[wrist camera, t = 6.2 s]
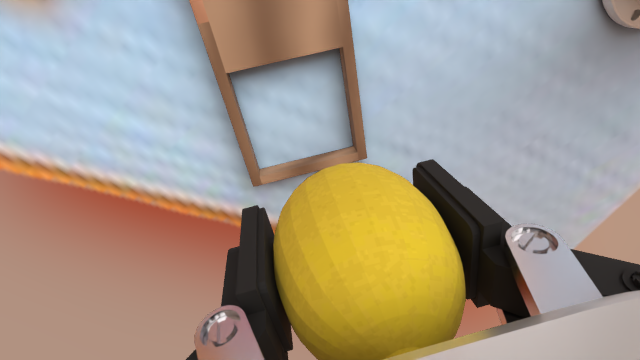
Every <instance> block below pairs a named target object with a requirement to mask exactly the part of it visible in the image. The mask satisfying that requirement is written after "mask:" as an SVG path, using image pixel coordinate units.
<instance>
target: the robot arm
mask: <svg viewBox="0 0 640 360" xmlns="http://www.w3.org/2000/svg"><path fill="white" fill-rule="evenodd" d="M602 2H603V5H604V8H605V10H606V11H607V13H608V15H609V16H610V17H611V18H612V19H613V20H614V21H615V22H616V23H617V24H620V25H622V26H624V27H628V28H635V29H640V0H602ZM413 186H414V187H416V188H417V189H418V190H419V191H420V192H421V193H422V194H423V195H424V196H425V197H426V198H427V199H428V200H429V201H430V202H431V203H432V204H433V206H434V207H435V208H436V210H437V211H438V213H439V214H440V216H441V218H442V219H443V221H444V223H445V225H446V227H447V229H448V231H449V232H450V234H451V236H452V238H453V240H454V242H455V245H456V247H457V250H458V252H459V255H460V258H461V261H462V266H463V271H464V278H465V288H466V299H471V300H472V301H473V303H474V304H475V305H476V307H477V308H478V307H482V306H485V305H489V304H490V305H491V306H493V307H496V308H497V313H498V316H499V318H500V321H501V324H502V325H500V326H497V327H493V328H490V329H486V330H483V331H479V332H476V333H472V334H469V335H465V336H462V337H459V338H455V339H452V340H448V341H445V342H441V343H438V344H435V345H431V346H428V347H424V348H421V349H417V350H414V351H411V352H407V353H404V354H400V355H397V356H394V357H390V358H387V359H383V360H640V265H639V264H634V263H630V262H625V261H621V260H617V259H612V258H608V257H603V256H599V255H595V254H590V253H585V252H581V251H577V250H572V249H570V248H569V247H568V245H567V244H566V243H565V241H564V240H563V238H562V237H561V236H560V235H559V234H558V233H556V232H554V231H553V230H551V229H549V228H546V227H544V226H540V225H536V224H518V225H515V226H513V227H512V226H511V225H510V224H509V223H507V222H506V221H505V220H504V219H503V218H502V217H501V216H499V215H498V214H497V213H496V212H495V211H494V210H493V209H491V208H490V207H489V206H488V205H487V204H486V203H485V202H483V201H482V200H481V199H480V198H479V197H478V196H477V195H475V194H474V193H473V192H472V191H471V190H470V189H468V188H467V187H464V186H463V185H462V184H460V183H459V182H458V181H457V180H456V179H455V178H454V177H453V176H451V175H450V174H449V173H448V172H447V171H446V170H445V169H443V168H442V167H441V166H440V165H439V164H438V163H437V162H436V161H434V160H433V159H432V160H428V161H424V162H420V163H418V164H417V166H416V168H413ZM273 243H274V233H273V230H272V227H271V224H270V222H269V219H268V216H267V213H266V210H265V208H260V209H259V207H258V205H256V206H253V207H249V208H245V209H243V210H242V221H241V235H240V246H239V247H235V248H231V249H229V250H228V255H227V263H226V271H225V279H224V287H223V295H222V304H221V307H220V308H217V309H215V310H213V311H212V312H210V313H209V314H208V315H207V316H206V317H205V318H204V319H203V320H202V321H201V322H200V324H199V326H198V327H197V329H196V333H195V336H194V342H195V347H196V350H195V351H194V352H193V353H192V354H191V355H190V356H189V357H188V358H187V359H186V360H288V352H287V351H290V350H292V349H293V343H292V333H291V324H290V321H289V319H288V316H287V314H286V311H285V309H284V306H283V303H282V301H281V298H280V295H279V292H278V289H277V285H276V280H275V273H274V251H273Z"/></svg>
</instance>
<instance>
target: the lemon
mask: <svg viewBox="0 0 640 360" xmlns="http://www.w3.org/2000/svg"><path fill="white" fill-rule="evenodd" d="M273 251H274V273H275V280H276V285H277V289H278V292H279V295H280V298H281V301H282V303H283V306H284V309H285V311H286V314H287V316H288V319H289V321H290V324H291V326H292V328H293V330H294V332H295V333H296V335H297V336H298V338H299V339H300V341H301V342H302V343H303V344H304V345H305V346H306V348H307V349H308V350H309V351H310V352H311V353H312V354H313V355H314V356H315V357H316V358H317V359H318V360H383V359H387V358H390V357H394V356H397V355H400V354H404V353H407V352H411V351H414V350H417V349H421V348H424V347H428V346H431V345H435V344H438V343H441V342H445V341H448V340H452V339H453V338H454V337H455V335H456V333H457V330H458V328H459V326H460V322H461V319H462V314H463V310H464V306H465V301H466V288H465V278H464V271H463V266H462V261H461V258H460V255H459V252H458V250H457V247H456V245H455V242H454V240H453V238H452V236H451V234H450V232H449V231H448V229H447V227H446V225H445V223H444V221H443V219H442V218H441V216H440V214H439V213H438V211H437V210H436V208H435V207H434V206H433V204H432V203H431V202H430V201H429V200H428V199H427V198H426V197H425V196H424V195H423V194H422V193H421V192H420V191H419V190H418V189H417V188H416V187H414V186H413V185H412V184H411V183H410V182H409V181H408V180H406V179H405V178H403V177H402V176H400V175H398V174H395V173H393V172H391V171H389V170H387V169H385V168H383V167H380V166H377V165H371V164H365V163H359V162H357V163H343V164H338V165H334V166H331V167H328V168H325V169H322V170H320V171H319V172H317V173H315V174H313V175H312V176H310V177H308V178H307V179H306V180H305V181H304V182H303V183H302V184H300V185H299V186H298V187H297V188H296V189H295V190H294V192H293V193H292V195H291V196H290V198H289V199H288V201H287V202H286V204H285V205H284V207H283V209H282V211H281V214H280V217H279V220H278V224H277V227H276V230H275V235H274V243H273Z"/></svg>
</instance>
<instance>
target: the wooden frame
mask: <svg viewBox="0 0 640 360" xmlns="http://www.w3.org/2000/svg"><path fill="white" fill-rule="evenodd" d="M189 1H190V4H191V7H192V9H193V12H194V15H195V18H196V21H197V24H198V27H199V30H200V33H201V36H202V39H203V41H204V44H205V47H206V50H207V53H208V56H209V59H210V62H211V65H212V68H213V71H214V73H215V76H216V79H217V82H218V85H219V88H220V91H221V94H222V97H223V100H224V103H225V105H226V108H227V111H228V114H229V117H230V120H231V123H232V126H233V129H234V132H235V135H236V137H237V140H238V143H239V146H240V149H241V152H242V155H243V158H244V161H245V164H246V167H247V169H248V172H249V175H250V178H251V181H252V184H253V187H254V186H258V185H262V184H266V183H270V182H274V181H278V180H282V179H286V178H290V177H294V176H298V175H302V174H306V173H310V172H314V171H318V170H322V169H325V168H328V167H331V166H334V165H338V164H343V163H350V162H354V161H358V160H362V159H366V158H367V154H366V145H365V137H364V129H363V121H362V113H361V104H360V96H359V88H358V80H357V71H356V63H355V55H354V47H353V39H352V30H351V22H350V14H349V6H348V0H189ZM336 48H339V51H340V58H341V65H342V72H343V79H344V86H345V93H346V100H347V107H348V114H349V120H350V127H351V134H352V141H353V146H352V147H348V148H344V149H340V150H336V151H332V152H328V153H324V154H320V155H316V156H311V157H307V158H303V159H299V160H295V161H291V162H287V163H283V164H279V165H275V166H271V167H267V168H263V169H259V166H258V163H257V160H256V157H255V154H254V151H253V147H252V144H251V141H250V138H249V135H248V132H247V129H246V126H245V123H244V119H243V116H242V113H241V110H240V107H239V104H238V101H237V98H236V95H235V91H234V88H233V85H232V82H231V79H230V76H229V73H230V72H235V71H239V70H244V69H248V68H252V67H257V66H261V65H266V64H270V63H274V62H279V61H283V60H288V59H292V58H296V57H301V56H305V55H310V54H314V53H319V52H323V51H327V50H332V49H336Z"/></svg>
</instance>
